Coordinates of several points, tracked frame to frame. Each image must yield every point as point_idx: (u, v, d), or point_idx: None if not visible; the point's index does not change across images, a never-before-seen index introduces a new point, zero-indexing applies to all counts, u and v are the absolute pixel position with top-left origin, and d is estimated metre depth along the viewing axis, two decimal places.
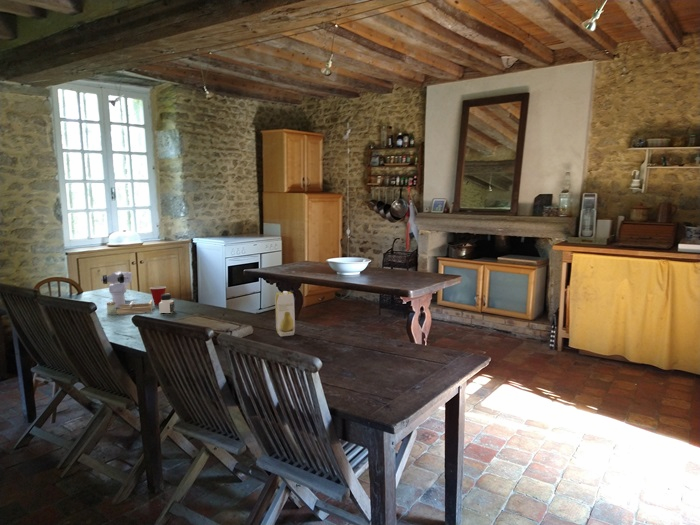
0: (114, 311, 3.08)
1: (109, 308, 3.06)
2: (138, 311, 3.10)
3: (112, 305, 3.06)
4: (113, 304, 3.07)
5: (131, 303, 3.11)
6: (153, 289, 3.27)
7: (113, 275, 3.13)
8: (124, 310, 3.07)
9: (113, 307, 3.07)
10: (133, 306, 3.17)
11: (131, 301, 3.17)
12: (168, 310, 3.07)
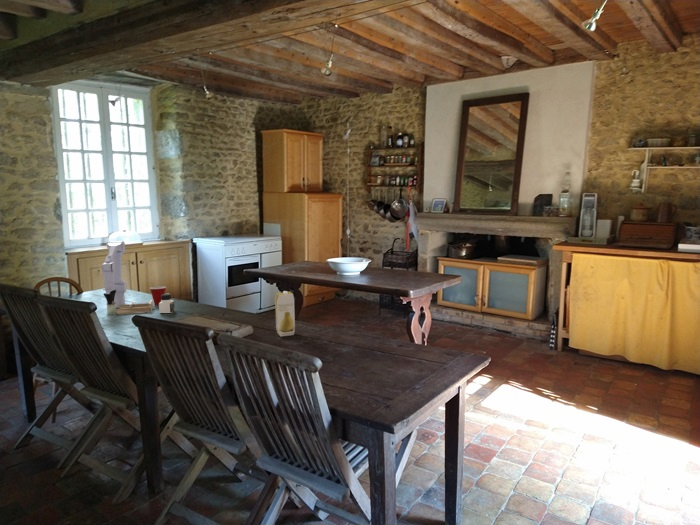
0: (114, 311, 3.08)
1: (109, 308, 3.06)
2: (138, 311, 3.10)
3: (112, 305, 3.06)
4: (113, 304, 3.07)
5: (131, 303, 3.11)
6: (153, 289, 3.27)
7: None
8: (124, 310, 3.07)
9: (113, 307, 3.07)
10: (133, 306, 3.17)
11: (131, 301, 3.17)
12: (168, 310, 3.07)
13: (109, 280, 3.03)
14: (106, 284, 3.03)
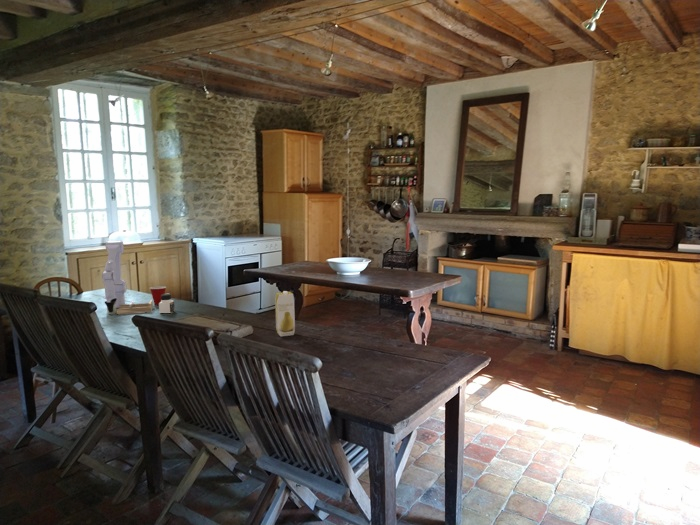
0: (114, 311, 3.08)
1: None
2: (138, 311, 3.10)
3: None
4: None
5: (131, 303, 3.11)
6: (153, 289, 3.27)
7: None
8: (124, 310, 3.07)
9: (113, 307, 3.07)
10: (133, 306, 3.17)
11: (131, 301, 3.17)
12: (168, 310, 3.07)
13: (110, 288, 3.04)
14: (107, 292, 3.04)
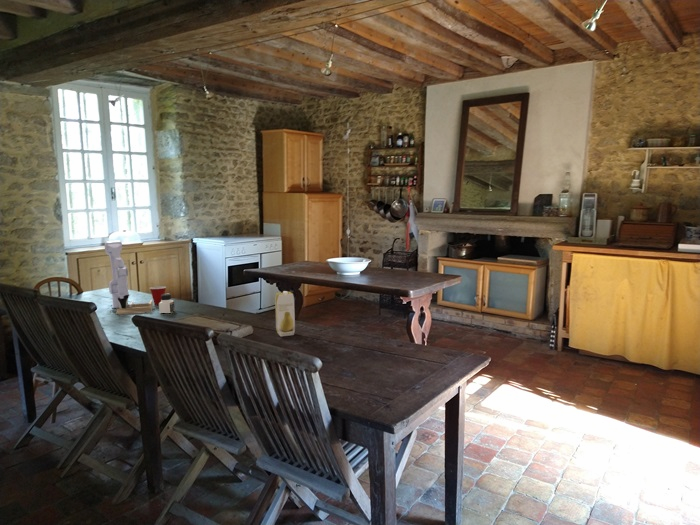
0: (126, 307, 3.12)
1: None
2: (138, 311, 3.10)
3: None
4: None
5: (131, 303, 3.11)
6: (153, 289, 3.27)
7: None
8: (124, 310, 3.07)
9: None
10: (133, 306, 3.17)
11: (131, 301, 3.17)
12: (168, 310, 3.07)
13: (125, 284, 3.09)
14: (120, 288, 3.08)
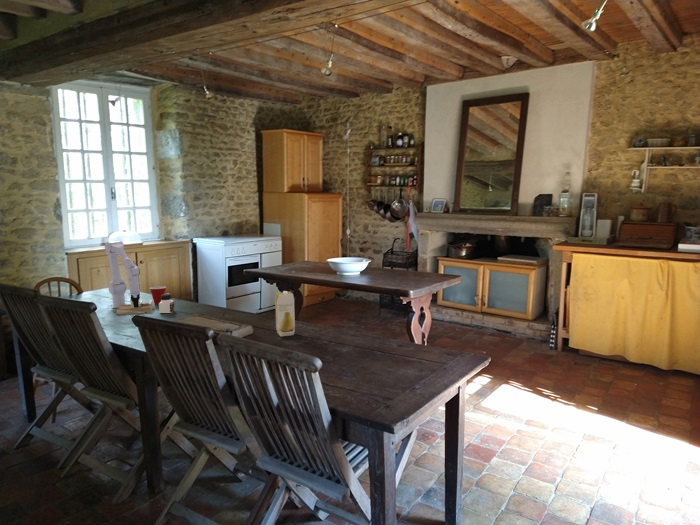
0: None
1: None
2: (138, 311, 3.10)
3: None
4: None
5: (140, 302, 3.13)
6: (153, 289, 3.27)
7: None
8: (124, 310, 3.07)
9: None
10: (142, 305, 3.19)
11: None
12: (168, 310, 3.07)
13: (137, 283, 3.11)
14: (133, 288, 3.10)
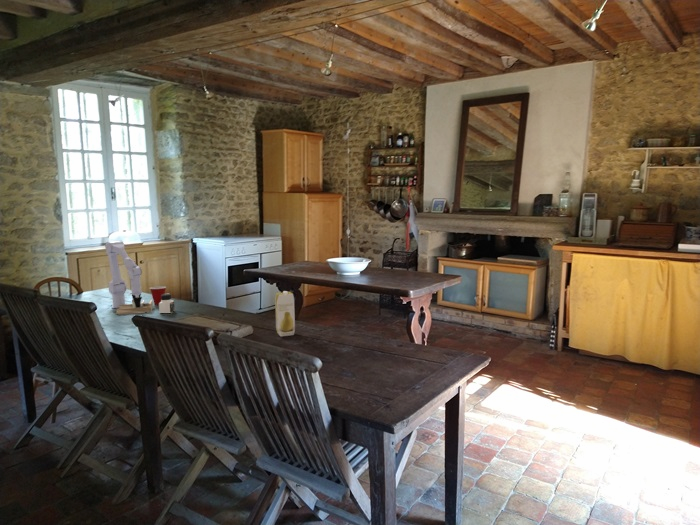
0: None
1: None
2: (138, 311, 3.10)
3: None
4: None
5: (142, 302, 3.13)
6: (153, 289, 3.27)
7: None
8: (124, 310, 3.07)
9: None
10: (144, 305, 3.19)
11: (142, 300, 3.19)
12: (168, 310, 3.07)
13: (139, 283, 3.12)
14: (134, 288, 3.10)
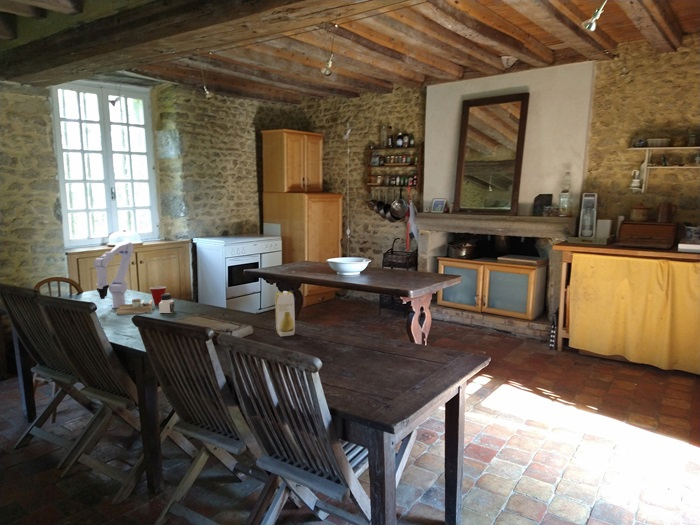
0: None
1: (135, 305, 3.12)
2: (138, 311, 3.10)
3: (138, 302, 3.12)
4: (139, 301, 3.13)
5: (142, 302, 3.13)
6: (153, 289, 3.27)
7: None
8: (124, 310, 3.07)
9: (139, 304, 3.13)
10: (144, 305, 3.19)
11: (142, 300, 3.19)
12: (168, 310, 3.07)
13: (100, 275, 3.07)
14: (99, 279, 3.07)
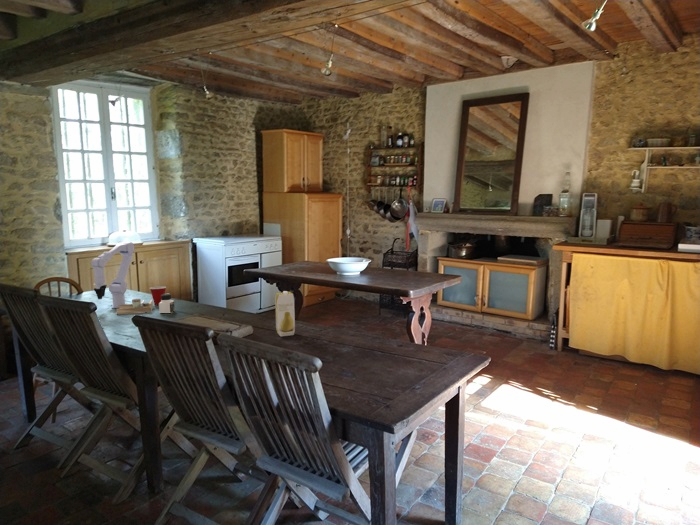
0: None
1: (135, 305, 3.12)
2: (138, 311, 3.10)
3: (138, 302, 3.12)
4: (139, 301, 3.13)
5: (142, 302, 3.13)
6: (153, 289, 3.27)
7: None
8: (124, 310, 3.07)
9: (139, 304, 3.13)
10: (144, 305, 3.19)
11: (142, 300, 3.19)
12: (168, 310, 3.07)
13: (97, 275, 3.06)
14: (97, 279, 3.07)
